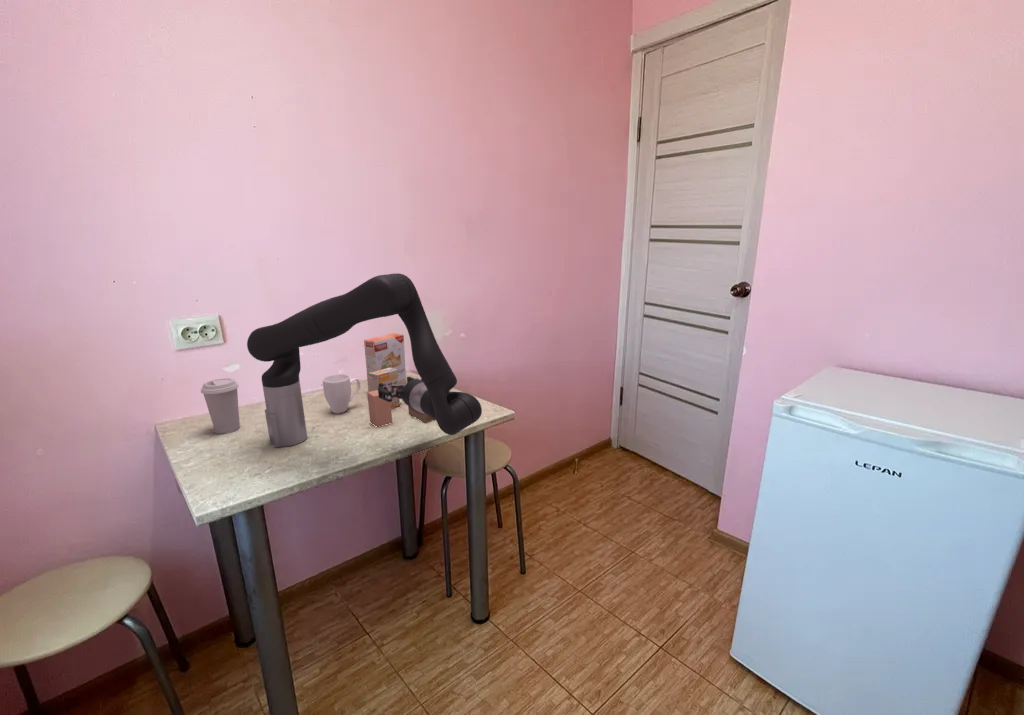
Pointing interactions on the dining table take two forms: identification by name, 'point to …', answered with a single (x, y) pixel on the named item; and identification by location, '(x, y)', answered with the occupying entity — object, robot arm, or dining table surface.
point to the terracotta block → (379, 409)
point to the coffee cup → (222, 404)
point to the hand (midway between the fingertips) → (394, 383)
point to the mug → (339, 391)
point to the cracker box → (386, 355)
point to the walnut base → (420, 415)
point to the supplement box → (385, 381)
